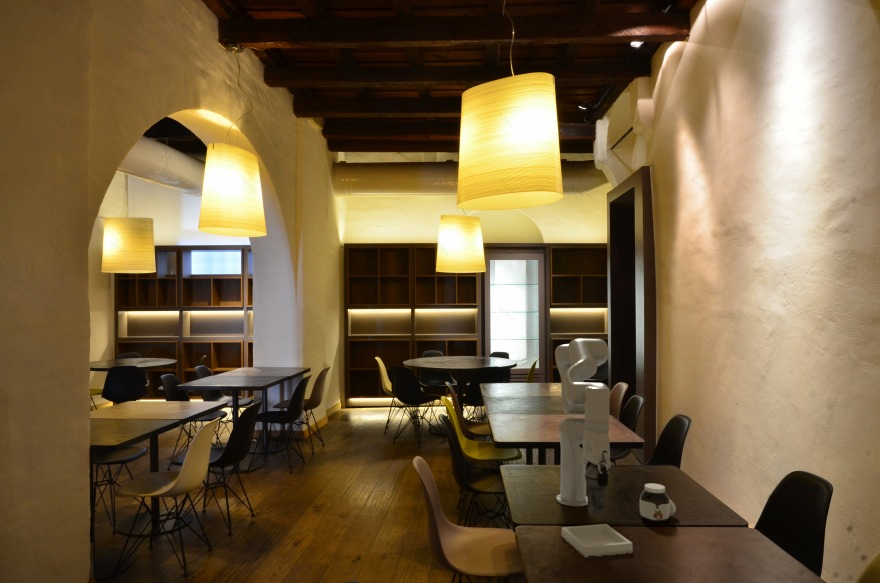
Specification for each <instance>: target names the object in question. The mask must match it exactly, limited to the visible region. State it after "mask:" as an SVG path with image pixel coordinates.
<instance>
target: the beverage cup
mask: <svg viewBox="0 0 880 583" xmlns="http://www.w3.org/2000/svg"><path fill="white" fill-rule="evenodd" d="M603 466H604V465H601V468H603ZM598 473H599V470H598V465H595V464H591V465H589V466H588V467H587V469H586V472H585V480H586V496H587V498H588V505H587V508H588V514H590V515H591V516H597V517H599V516H600V517H601V516H603V515H604V513H605V504H606V494H607V486H598Z"/></svg>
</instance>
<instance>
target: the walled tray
mask: <svg viewBox="0 0 880 583" xmlns="http://www.w3.org/2000/svg"><path fill="white" fill-rule="evenodd" d="M561 536H562V537H563V538H564V540H565V542H567V543H568V542H569V543H570V544H571V545H572V546H573V547H574V548H575V549H576V551H577V550H578V551H579V552H580V553H581V554H582V555H583V556H584V557H585V558H589V557H588V556H596V557H604V556H603V555H607V556H617V555H616V554H618V555H626V553H628V554H633V547H634V546H633V545H634V544H633V542H632V541H631V540H629V539H627V538H626V537H625V536H623V535H622V534H621V533H619V532H618V531H617V530H615V528H613V527H611V525H609V524H608V523H602V524H591V525H590V524H588V525H575V526H574V525H573V526H566V527H565V526H564V527H563V526H562V527H561ZM562 537H561V538H562ZM563 538H562V539H563ZM569 543H568V544H569ZM570 544H569V545H570ZM571 545H570V546H571ZM572 546H571V547H572ZM573 547H572V548H573ZM574 548H573V549H574ZM575 549H574V550H575ZM578 551H577V552H578ZM579 552H578V553H579ZM580 553H579V554H580ZM581 554H580V555H581ZM582 555H581V556H582ZM583 556H582V557H583ZM584 557H583V558H584Z"/></svg>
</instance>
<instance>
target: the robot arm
mask: <svg viewBox="0 0 880 583" xmlns="http://www.w3.org/2000/svg"><path fill="white" fill-rule="evenodd" d="M609 351H610V350H609V347H608V344H607V342H606V341H605V340H603V339H601V338H576V339H573V340H571V341H570V342H569V343H567V344H566V343H565V344H560V345H558V346H556V348H555V351H554V356H555V364H556V367H557V370H558V373H559V376H560V385H561V408H562V410H563V412H564V413H565V414H568V415H579V416H582V415H583V416H584V418H582V417H580V418H579V417H578V418H577V417H569V418H564V419H562V420H560V422H559V423H558V436H559V443H560V486H559V489H560V490H559V491H560V494H558V495H556V497H555V499H556V501H557V502H558V503H559V504H561V505H565V506H568V507H584V506H588V498H587V484H586V480H585V472H586V469H587V467H588V466H589V465H591V464H595V465H598V470H599V473H598V486H606V487H608V485H609V473H610V469H611V467H612V462H611V460H610V459H611V450H610V449H611V448H610V447H611V446H610V444H611V443H610V435H609V432H610V399H611V393H610V392H611V391H610V388H609V387H608V385H607V384H605V383H604V382H603V383H602V382H588V381H587V380H588V379H590V378H592V377H593V376H595V374H596V373H597V370H598V367H600V366H601V365H603V364H605V363H606V362H607V360H608V359H609V354H610V353H609ZM585 381H587V382H585ZM580 445H582V447H581V446H580ZM601 465H603V468H601Z"/></svg>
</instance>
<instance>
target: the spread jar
mask: <svg viewBox="0 0 880 583" xmlns="http://www.w3.org/2000/svg"><path fill="white" fill-rule="evenodd" d="M639 496H640V497H639V514H640V516H641V517H642V518H643V519H644V520H645V521H648V522H649V521H650V522H649V523H653V522H656V523H655V524H662V523H661V522H663V523H664V522H667V520H668V519H669V518H670V517H672V516H673V515H674V514H675V513H676V511H677V510H676V509H677V507H676V504H675V503H674V501H672V500H671V499H670V497H669V496H668V494H667V493H666V486H664V485H662V484H659V483H650V482H649V483H645V484H644V490H643V491H642V492H641V494H640V495H639Z"/></svg>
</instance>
